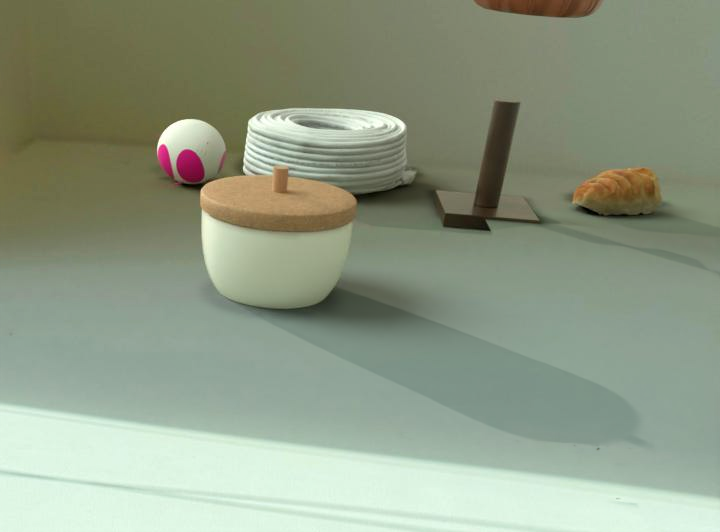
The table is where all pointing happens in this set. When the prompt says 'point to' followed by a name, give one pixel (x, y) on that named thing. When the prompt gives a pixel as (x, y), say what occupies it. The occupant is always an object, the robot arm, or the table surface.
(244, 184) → the trinket box
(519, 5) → the ring
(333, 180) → the cable
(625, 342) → the table surface
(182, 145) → the stress ball
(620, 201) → the pastry
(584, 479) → the table surface
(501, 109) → the stand
